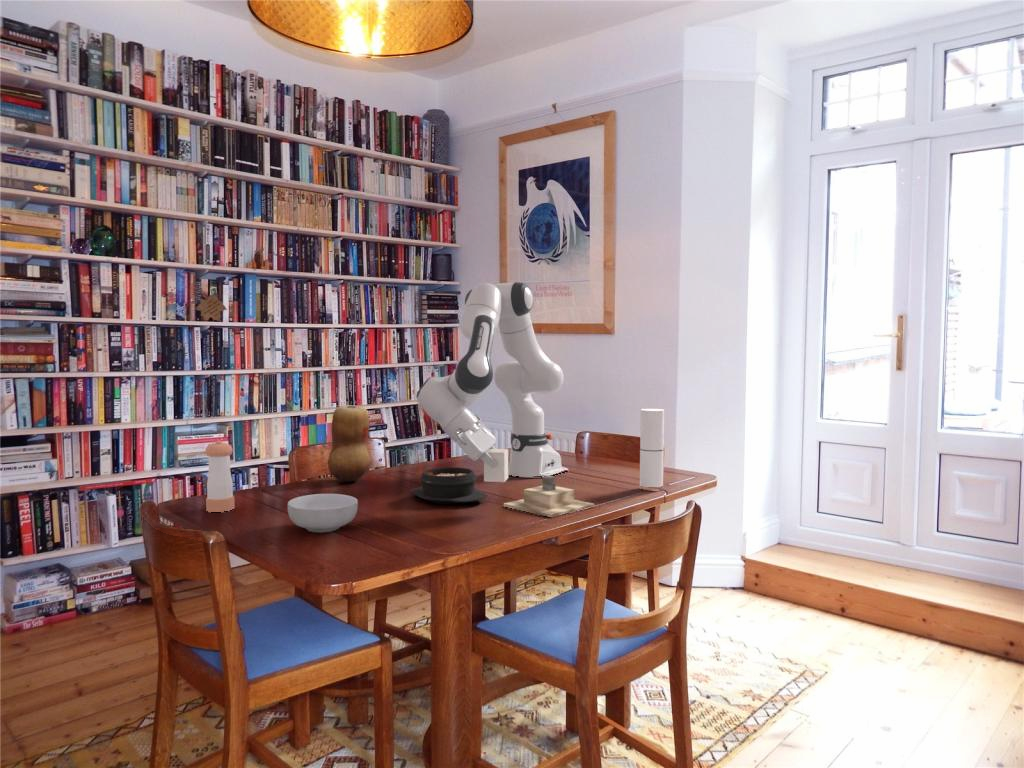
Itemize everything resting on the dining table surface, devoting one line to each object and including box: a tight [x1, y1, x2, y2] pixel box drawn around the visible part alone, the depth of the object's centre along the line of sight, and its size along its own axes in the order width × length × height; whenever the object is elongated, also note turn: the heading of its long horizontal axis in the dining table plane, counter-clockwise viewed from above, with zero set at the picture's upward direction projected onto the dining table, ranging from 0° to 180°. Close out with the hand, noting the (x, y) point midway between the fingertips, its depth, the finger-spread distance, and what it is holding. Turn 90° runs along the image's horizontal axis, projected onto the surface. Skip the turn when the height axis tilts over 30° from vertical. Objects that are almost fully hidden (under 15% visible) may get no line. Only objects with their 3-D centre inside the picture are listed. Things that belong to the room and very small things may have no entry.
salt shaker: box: [204, 440, 236, 513], centre depth 204 cm, size 7×7×19 cm
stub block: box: [502, 476, 595, 518], centre depth 208 cm, size 18×18×8 cm
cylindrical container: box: [639, 408, 665, 487], centre depth 232 cm, size 7×7×25 cm
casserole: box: [409, 466, 489, 505], centre depth 218 cm, size 25×19×8 cm
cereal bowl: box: [287, 493, 359, 533], centre depth 185 cm, size 17×17×7 cm
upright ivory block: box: [483, 448, 509, 483], centre depth 202 cm, size 6×6×8 cm
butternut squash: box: [327, 404, 371, 483], centre depth 243 cm, size 14×13×25 cm
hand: (498, 463), depth 202 cm, fingers closed on upright ivory block, 6 cm apart
